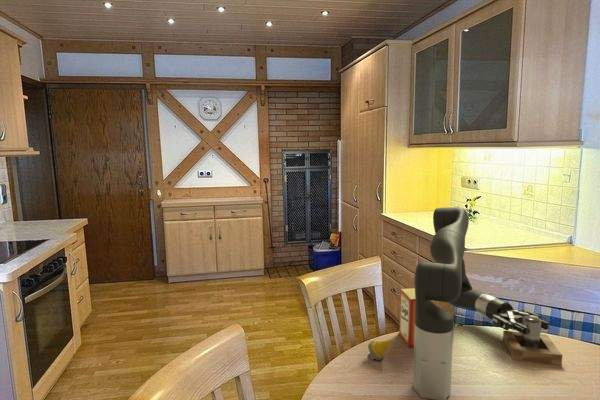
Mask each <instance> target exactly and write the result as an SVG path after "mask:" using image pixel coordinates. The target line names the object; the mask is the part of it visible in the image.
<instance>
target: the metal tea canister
mask: <svg viewBox="0 0 600 400" xmlns="http://www.w3.org/2000/svg"><path fill="white" fill-rule="evenodd" d="M541 320H542V319H541ZM541 320H539V319H538V318H535V317H531V316H526V317H523V323H522V324H521V325H523V326H525V327H527V328H528V334H526V335H524V334H522V339H521V345H520V346H521V347H529V348H538V349H541V347H540V334H541V332H542V328H541Z"/></svg>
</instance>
